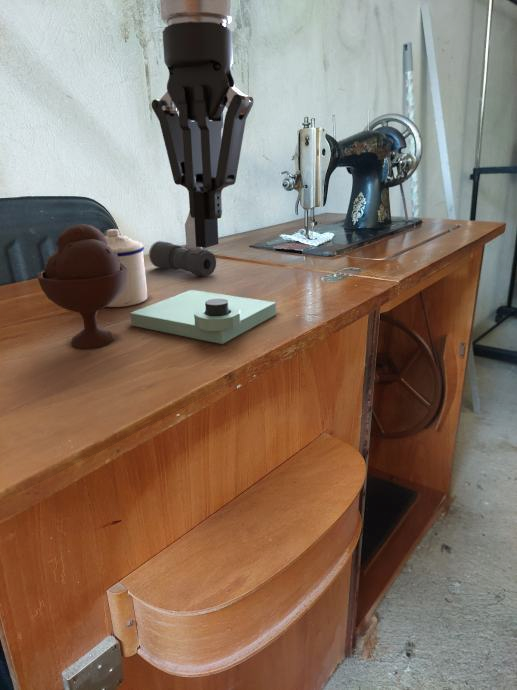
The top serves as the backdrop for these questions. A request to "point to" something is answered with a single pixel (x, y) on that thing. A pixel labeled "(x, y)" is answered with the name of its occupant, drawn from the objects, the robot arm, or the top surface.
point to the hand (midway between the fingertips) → (207, 245)
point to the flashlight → (182, 258)
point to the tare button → (217, 307)
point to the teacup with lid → (129, 269)
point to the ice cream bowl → (84, 279)
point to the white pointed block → (190, 233)
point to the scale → (203, 316)
